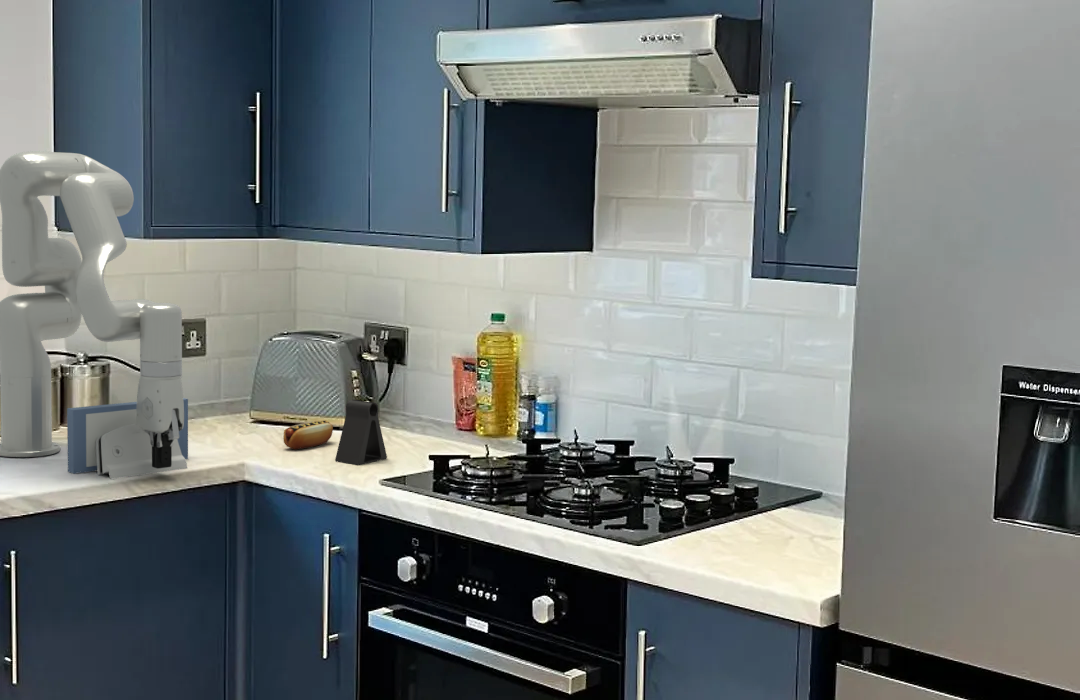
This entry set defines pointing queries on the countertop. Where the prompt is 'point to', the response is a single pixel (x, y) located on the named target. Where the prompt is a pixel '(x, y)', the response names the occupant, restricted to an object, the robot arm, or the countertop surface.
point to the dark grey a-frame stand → (361, 435)
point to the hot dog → (307, 434)
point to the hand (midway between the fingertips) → (161, 466)
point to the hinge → (131, 453)
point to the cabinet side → (103, 431)
